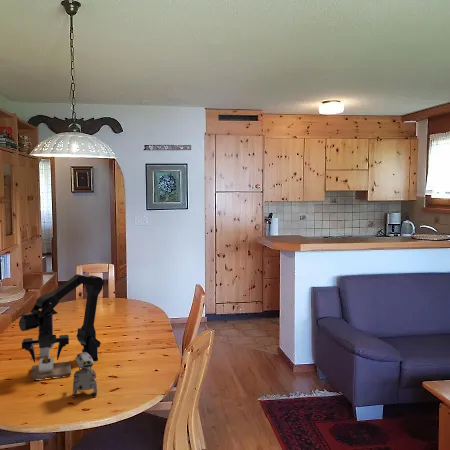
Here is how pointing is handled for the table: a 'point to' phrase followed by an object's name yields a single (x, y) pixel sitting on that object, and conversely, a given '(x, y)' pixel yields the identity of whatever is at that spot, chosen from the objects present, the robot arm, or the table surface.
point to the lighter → (45, 351)
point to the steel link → (46, 365)
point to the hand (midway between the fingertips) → (46, 360)
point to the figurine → (84, 374)
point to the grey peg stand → (58, 370)
